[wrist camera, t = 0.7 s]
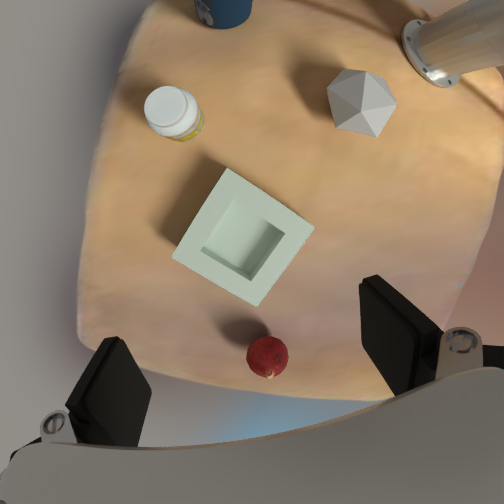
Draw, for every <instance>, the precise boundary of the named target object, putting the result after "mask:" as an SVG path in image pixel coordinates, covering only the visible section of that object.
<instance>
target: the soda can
mask: <svg viewBox="0 0 504 504" xmlns="http://www.w3.org/2000/svg"><path fill="white" fill-rule="evenodd" d="M252 1H253V0H194V2H195V6H196V11H197V15H198V18H199V19H200V21H201V22H202V23H204V24H205V25H207V26H209V27H211V28H215V29H230V28H234V27H236V26H239V25H240V24H242V23H244V22H245V21H246V20H247V19H248V17H249V16H250V13H251V8H252Z"/></svg>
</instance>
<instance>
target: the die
mask: <svg viewBox="0 0 504 504" xmlns="http://www.w3.org/2000/svg"><path fill="white" fill-rule="evenodd" d="M327 95H328V101H329V105H330V109H331V112H332V116H333V120H334V124H335V128H339V129H343V130H348V131H352V132H356V133H360V134H365V135H368V136H372V137H376V138H377V137H378V135H379V134H380V132H381V130H382V129H383V127H384V126H385V124H386V122H387V121H388V119H389V118H390V116H391V114H392V113H393V111H394V109H395V108H396V106H397V102H396V100H395V98H394V96H393V94H392V92H391V90H390V88H389V86H388V85H387V83H386V81H385V79H384V78H383V77H380V76H378V75H375V74H372V73H370V72H367V71H360V70H351V69H343V70H342V72H341V73H340V74H339V75H338V76H337V77H336V78H335V79H334V80H333V81H332V82H331V84H330V85H329V86H328V87H327Z"/></svg>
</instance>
